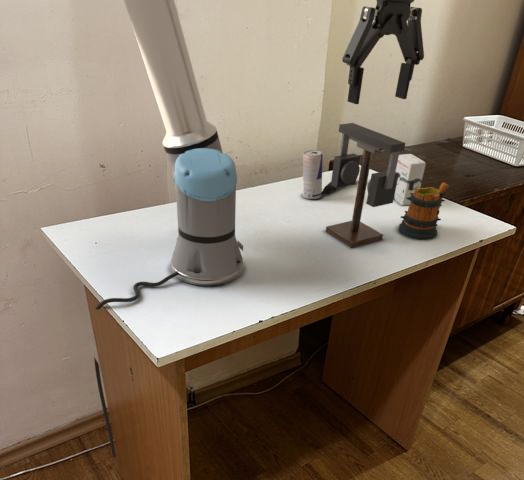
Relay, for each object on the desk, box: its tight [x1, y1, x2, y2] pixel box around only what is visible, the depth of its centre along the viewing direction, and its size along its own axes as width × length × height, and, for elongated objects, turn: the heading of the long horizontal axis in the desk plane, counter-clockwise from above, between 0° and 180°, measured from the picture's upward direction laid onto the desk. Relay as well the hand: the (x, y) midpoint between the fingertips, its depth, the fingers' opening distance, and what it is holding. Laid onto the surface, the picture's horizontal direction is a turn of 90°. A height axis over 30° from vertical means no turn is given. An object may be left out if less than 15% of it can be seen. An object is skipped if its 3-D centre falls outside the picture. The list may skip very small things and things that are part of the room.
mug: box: [397, 182, 450, 241], centre depth 128 cm, size 13×10×12 cm
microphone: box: [319, 181, 338, 198], centre depth 151 cm, size 6×6×20 cm
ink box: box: [393, 153, 427, 206], centre depth 144 cm, size 8×5×12 cm, turn 17°
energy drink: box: [302, 149, 323, 200], centre depth 142 cm, size 5×5×12 cm
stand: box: [325, 142, 384, 248], centre depth 120 cm, size 10×10×22 cm
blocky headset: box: [330, 122, 406, 208], centre depth 116 cm, size 6×17×14 cm, turn 32°
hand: (377, 100), depth 108 cm, fingers open, 13 cm apart
